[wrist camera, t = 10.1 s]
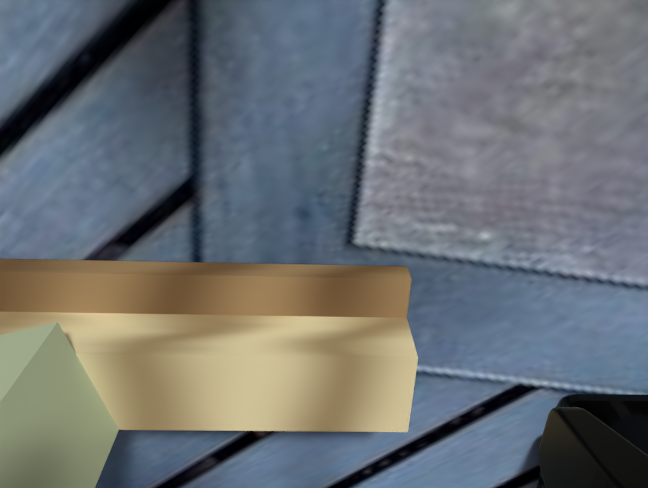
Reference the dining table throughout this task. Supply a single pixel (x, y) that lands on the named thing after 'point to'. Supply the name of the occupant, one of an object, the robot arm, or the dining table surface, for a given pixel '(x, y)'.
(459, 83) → the dining table surface
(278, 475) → the dining table surface
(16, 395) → the sage post
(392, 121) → the dining table surface
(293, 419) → the birch ridge
